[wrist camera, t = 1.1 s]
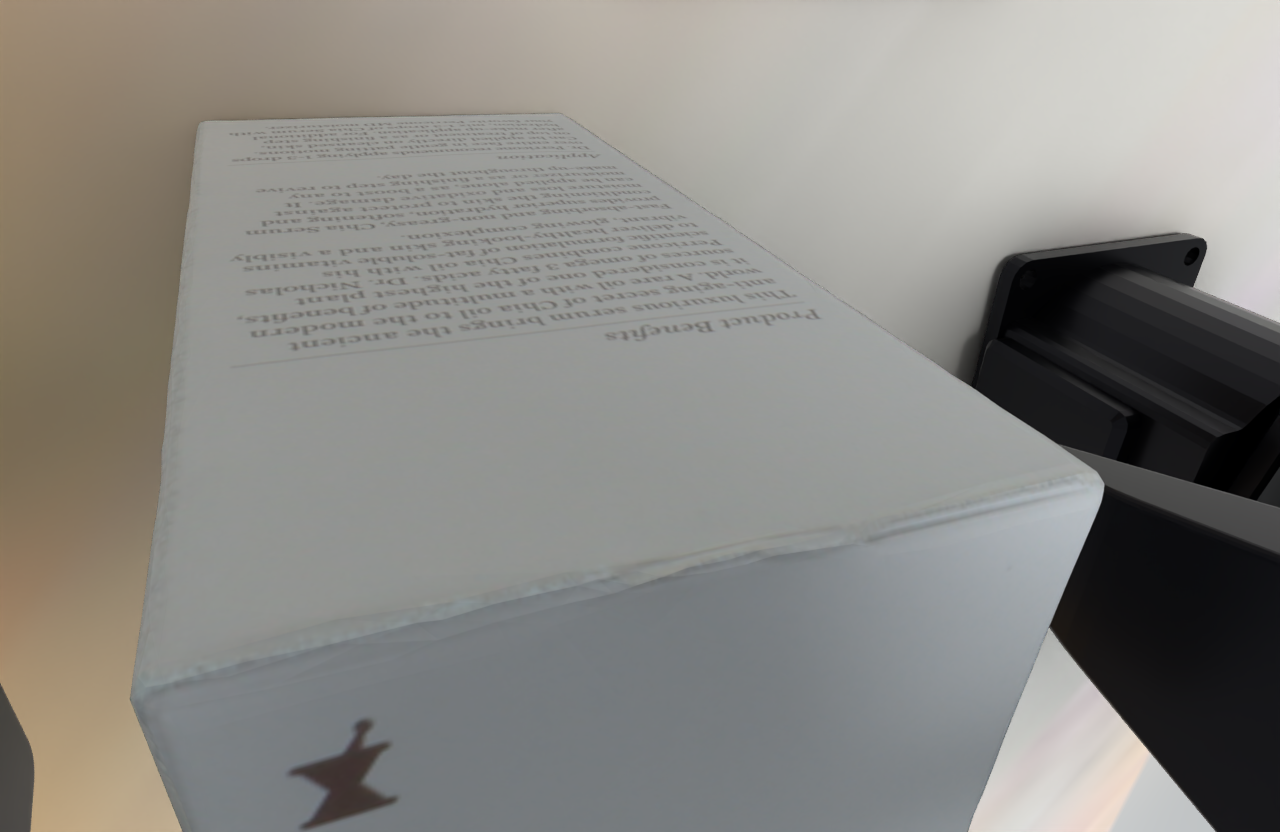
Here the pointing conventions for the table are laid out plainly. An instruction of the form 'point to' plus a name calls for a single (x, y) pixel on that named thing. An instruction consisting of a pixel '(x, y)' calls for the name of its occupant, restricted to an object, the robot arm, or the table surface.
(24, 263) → the table surface
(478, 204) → the skincare box
